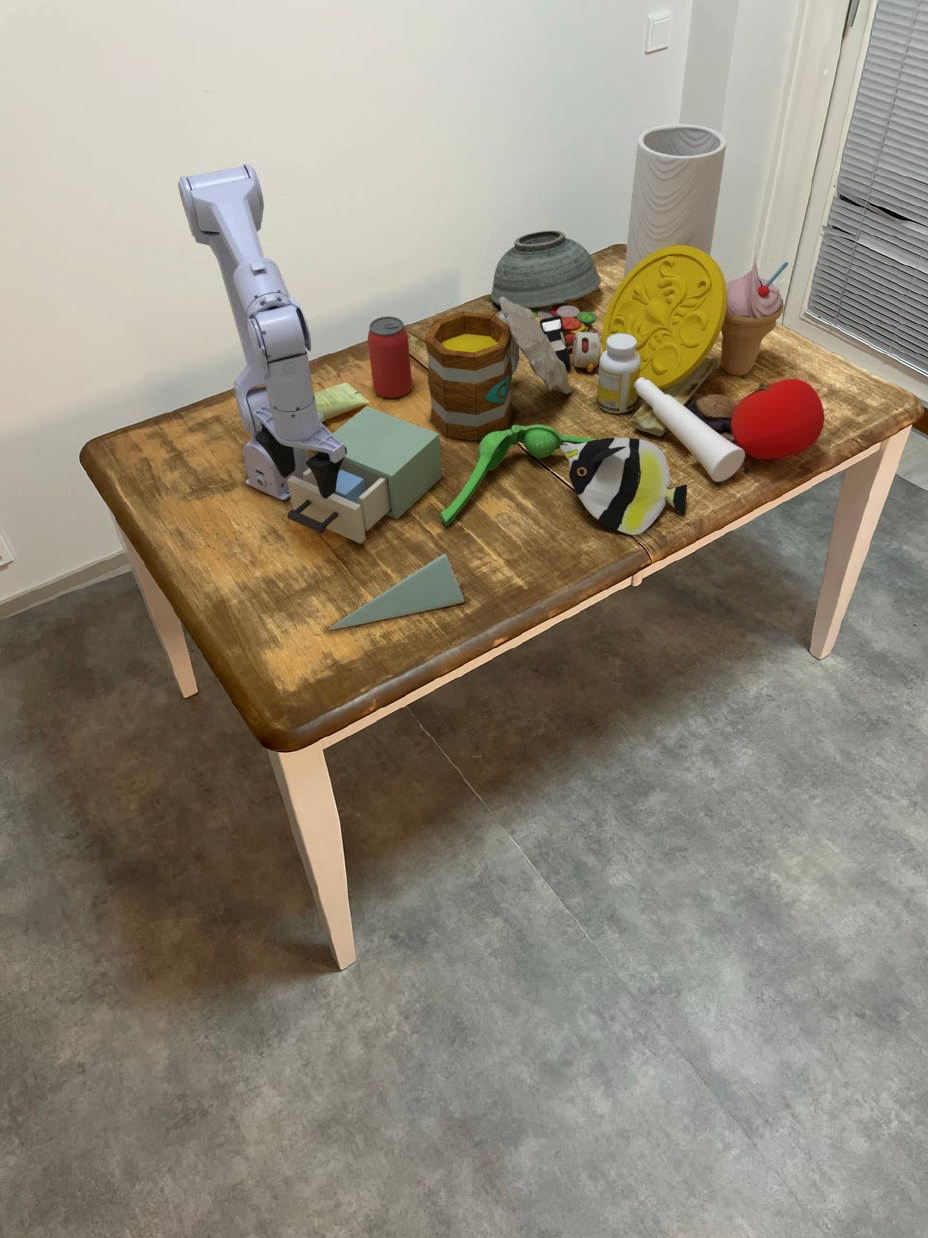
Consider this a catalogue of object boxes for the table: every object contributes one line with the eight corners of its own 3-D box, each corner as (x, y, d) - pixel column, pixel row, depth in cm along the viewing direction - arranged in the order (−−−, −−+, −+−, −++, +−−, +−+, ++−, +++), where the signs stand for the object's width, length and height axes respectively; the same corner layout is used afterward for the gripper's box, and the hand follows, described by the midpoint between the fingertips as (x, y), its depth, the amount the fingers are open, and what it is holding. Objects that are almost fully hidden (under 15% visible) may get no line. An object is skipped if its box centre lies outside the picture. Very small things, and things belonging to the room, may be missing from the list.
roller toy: (595, 355, 170) (600, 325, 166) (600, 375, 165) (605, 344, 161) (570, 355, 170) (574, 324, 165) (574, 374, 165) (578, 344, 161)
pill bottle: (637, 394, 161) (644, 331, 153) (635, 416, 157) (642, 353, 148) (598, 391, 162) (602, 328, 154) (595, 414, 158) (599, 350, 149)
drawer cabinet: (396, 519, 141) (391, 476, 136) (325, 488, 147) (317, 445, 141) (442, 477, 148) (439, 433, 142) (371, 448, 153) (366, 405, 147)
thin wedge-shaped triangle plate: (353, 665, 122) (471, 593, 125) (326, 622, 123) (444, 552, 126) (354, 673, 130) (465, 605, 133) (329, 633, 131) (440, 566, 134)
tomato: (848, 441, 140) (826, 364, 137) (758, 476, 140) (734, 401, 138) (814, 436, 152) (793, 365, 149) (731, 468, 152) (709, 399, 150)
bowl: (511, 220, 189) (518, 271, 195) (464, 258, 175) (473, 312, 181) (612, 216, 180) (616, 270, 186) (570, 255, 166) (576, 312, 172)
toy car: (572, 371, 166) (571, 364, 164) (549, 376, 167) (548, 369, 164) (562, 320, 169) (561, 311, 166) (539, 324, 169) (538, 317, 167)
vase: (657, 292, 183) (678, 115, 160) (716, 321, 175) (747, 139, 152) (603, 319, 177) (617, 139, 154) (662, 350, 169) (685, 166, 146)
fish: (576, 400, 134) (559, 498, 130) (709, 434, 136) (697, 532, 132) (554, 438, 146) (538, 529, 142) (677, 468, 148) (664, 559, 144)
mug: (480, 451, 152) (477, 367, 141) (413, 422, 157) (406, 340, 147) (550, 392, 162) (553, 309, 151) (485, 367, 168) (483, 286, 157)
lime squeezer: (446, 528, 140) (443, 494, 135) (413, 482, 147) (410, 448, 142) (645, 461, 148) (649, 427, 144) (605, 421, 156) (608, 387, 151)
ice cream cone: (767, 352, 168) (791, 240, 153) (770, 388, 161) (796, 274, 146) (703, 349, 169) (721, 238, 155) (703, 384, 162) (722, 271, 147)
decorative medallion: (648, 420, 158) (640, 417, 157) (585, 332, 170) (578, 328, 169) (754, 305, 146) (747, 300, 144) (678, 219, 158) (671, 214, 157)
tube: (260, 453, 156) (361, 412, 164) (267, 443, 151) (371, 401, 160) (243, 421, 155) (346, 382, 164) (250, 410, 151) (355, 370, 159)
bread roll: (673, 421, 155) (675, 401, 153) (700, 396, 160) (703, 377, 157) (732, 445, 150) (736, 425, 148) (759, 419, 155) (763, 399, 152)
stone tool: (590, 414, 159) (519, 330, 139) (568, 424, 160) (495, 343, 140) (576, 358, 164) (506, 269, 144) (555, 368, 166) (483, 282, 145)
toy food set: (505, 340, 174) (504, 323, 171) (544, 308, 181) (544, 291, 178) (568, 362, 168) (569, 345, 166) (607, 328, 175) (608, 311, 173)
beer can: (411, 399, 162) (405, 335, 154) (372, 400, 163) (364, 336, 154) (413, 377, 167) (407, 313, 158) (375, 378, 167) (367, 314, 158)
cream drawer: (341, 561, 135) (335, 527, 130) (275, 530, 140) (267, 496, 135) (404, 502, 143) (401, 468, 138) (339, 475, 148) (333, 441, 143)
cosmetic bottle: (743, 441, 140) (650, 359, 151) (710, 467, 140) (619, 383, 152) (747, 464, 145) (657, 382, 157) (715, 489, 145) (627, 405, 157)
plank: (685, 361, 167) (687, 347, 165) (718, 370, 165) (720, 356, 163) (628, 432, 154) (629, 418, 152) (662, 443, 152) (664, 429, 150)
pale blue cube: (349, 517, 139) (345, 494, 136) (326, 507, 141) (322, 484, 138) (367, 501, 141) (363, 478, 138) (344, 491, 143) (341, 469, 140)
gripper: (356, 402, 120) (368, 487, 130) (273, 366, 127) (291, 450, 137) (317, 430, 117) (332, 516, 127) (234, 391, 123) (254, 476, 133)
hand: (308, 483), depth 131 cm, fingers open, 7 cm apart
